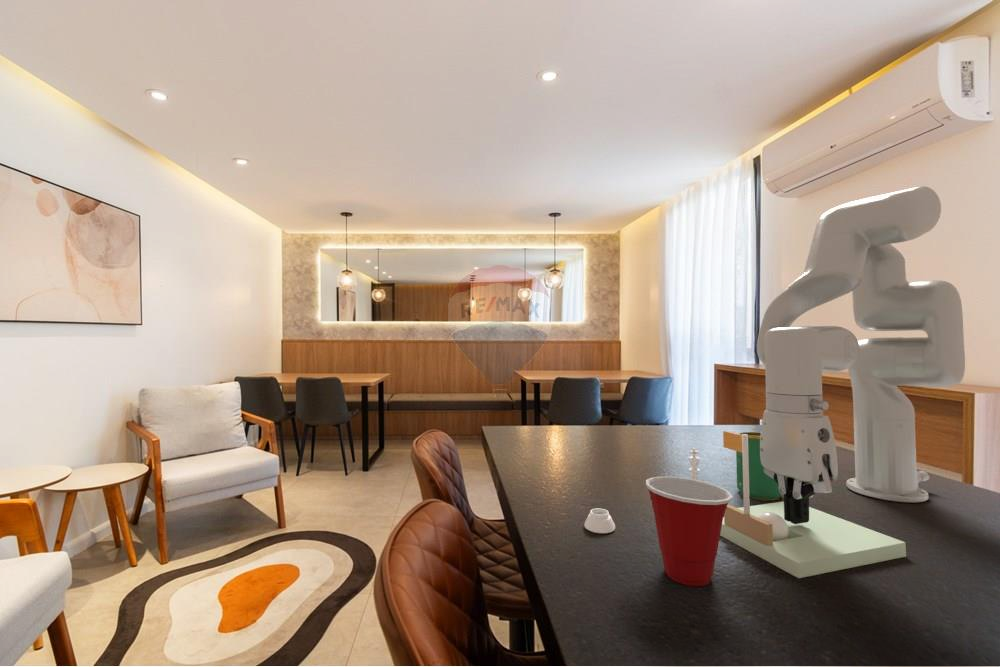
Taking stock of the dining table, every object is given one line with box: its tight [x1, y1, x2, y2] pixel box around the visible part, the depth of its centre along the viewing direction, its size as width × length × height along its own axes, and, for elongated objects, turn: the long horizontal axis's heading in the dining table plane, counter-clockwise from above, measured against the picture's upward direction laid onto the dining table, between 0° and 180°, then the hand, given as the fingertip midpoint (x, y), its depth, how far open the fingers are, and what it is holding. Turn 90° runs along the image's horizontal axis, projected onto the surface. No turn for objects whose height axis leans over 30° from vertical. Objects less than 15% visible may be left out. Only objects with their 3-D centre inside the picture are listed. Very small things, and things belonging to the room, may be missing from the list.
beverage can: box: [735, 431, 782, 501], centre depth 90 cm, size 8×8×12 cm
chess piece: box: [688, 447, 701, 481], centre depth 88 cm, size 5×5×10 cm
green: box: [720, 430, 907, 579], centre depth 70 cm, size 20×18×17 cm
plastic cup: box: [645, 476, 734, 587], centre depth 59 cm, size 11×11×12 cm
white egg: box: [756, 512, 789, 541], centre depth 68 cm, size 5×5×5 cm
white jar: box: [583, 507, 616, 535], centre depth 74 cm, size 5×3×5 cm
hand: (796, 520), depth 70 cm, fingers closed
